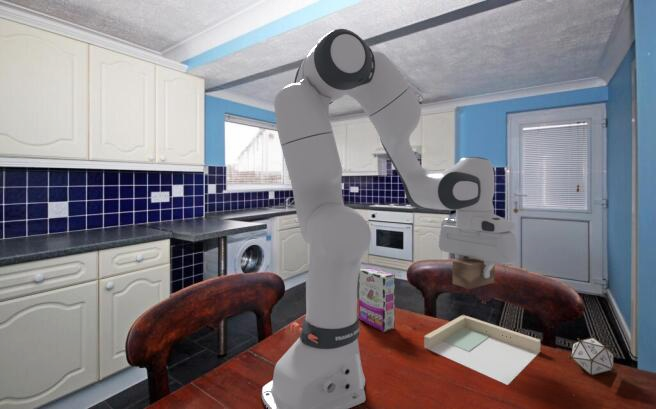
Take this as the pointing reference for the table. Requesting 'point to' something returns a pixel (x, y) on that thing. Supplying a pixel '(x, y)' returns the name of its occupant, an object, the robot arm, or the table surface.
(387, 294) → the candy bar box
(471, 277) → the walnut block
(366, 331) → the table surface
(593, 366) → the game die
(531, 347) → the arena
